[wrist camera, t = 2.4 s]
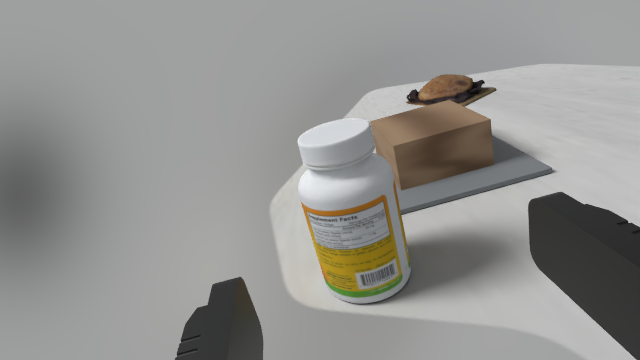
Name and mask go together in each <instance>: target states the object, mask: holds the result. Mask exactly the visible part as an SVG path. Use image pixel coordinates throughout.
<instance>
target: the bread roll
mask: <svg viewBox="0 0 640 360" xmlns="http://www.w3.org/2000/svg"><path fill="white" fill-rule="evenodd" d="M484 83H485V82H484V81H483V80H480V81H478V82H473V80H472V78H469V77H467V76H462V75H441V76H438V77H436V78H434V79H432V80H431V81H430V82H428V83H427V84H426V85H425V86H424V87H423V88H422V89H421V90H420V91H419V92H417V90H416V89H415V90H412V91H411V92H410V94H409V95H407V99H408V100H409V101H408V102H406V103H408V104H415V105H424V106H428V105H432V104H435V103H439V102H443V101H446V100H451V101H453V102H455V103H457V104H459V105H461V106H464V107H465V106H467V105H468V104H470V103H472V102H474V101H476V100H479V99H480V98H482V97H484V96H486V95H488V94H490V93H492V92H494V91H496V88H481V86H482V84H484ZM478 85H479V86H478ZM409 97H410V98H409Z"/></svg>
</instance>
